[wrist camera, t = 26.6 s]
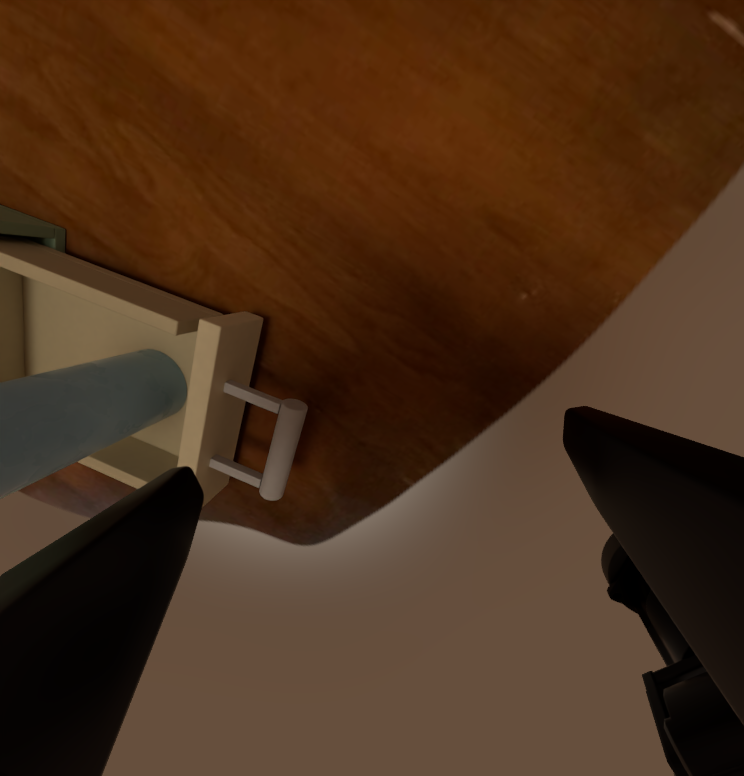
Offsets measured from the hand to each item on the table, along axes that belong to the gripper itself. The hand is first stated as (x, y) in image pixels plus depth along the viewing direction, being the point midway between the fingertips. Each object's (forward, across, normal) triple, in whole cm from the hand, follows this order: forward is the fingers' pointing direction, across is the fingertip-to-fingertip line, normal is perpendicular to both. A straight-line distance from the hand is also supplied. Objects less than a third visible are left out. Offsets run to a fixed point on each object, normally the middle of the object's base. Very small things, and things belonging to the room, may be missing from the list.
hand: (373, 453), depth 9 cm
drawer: (+14, +14, +2) cm, 20 cm away
